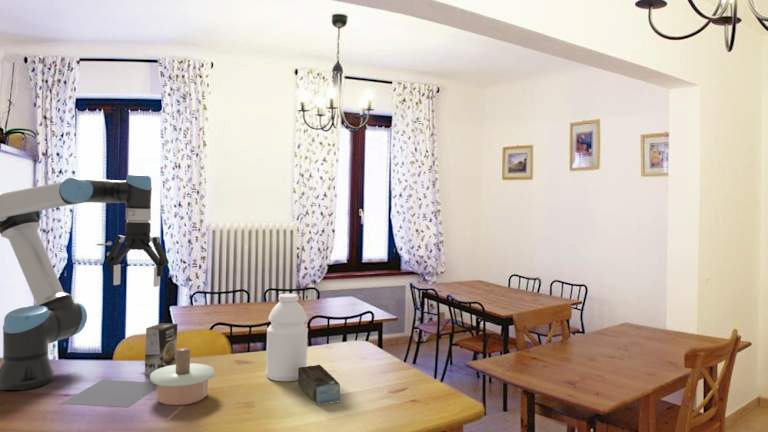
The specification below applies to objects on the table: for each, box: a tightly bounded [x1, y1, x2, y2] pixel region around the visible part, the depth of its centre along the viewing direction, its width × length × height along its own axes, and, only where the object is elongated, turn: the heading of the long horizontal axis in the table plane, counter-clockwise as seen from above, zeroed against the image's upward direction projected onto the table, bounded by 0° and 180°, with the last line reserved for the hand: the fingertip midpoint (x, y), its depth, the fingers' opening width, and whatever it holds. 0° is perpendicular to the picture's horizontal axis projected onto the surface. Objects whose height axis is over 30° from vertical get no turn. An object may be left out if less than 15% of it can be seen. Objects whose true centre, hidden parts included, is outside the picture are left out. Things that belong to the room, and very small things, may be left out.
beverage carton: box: [297, 364, 341, 406], centre depth 161 cm, size 8×19×7 cm, turn 26°
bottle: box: [265, 293, 309, 382], centre depth 177 cm, size 14×14×28 cm
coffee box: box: [144, 322, 178, 376], centre depth 176 cm, size 9×6×16 cm
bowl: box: [156, 380, 209, 406], centre depth 154 cm, size 14×14×6 cm
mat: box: [60, 379, 157, 408], centre depth 155 cm, size 20×20×1 cm
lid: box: [149, 347, 215, 387], centre depth 154 cm, size 18×18×8 cm
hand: (136, 285), depth 170 cm, fingers open, 13 cm apart
